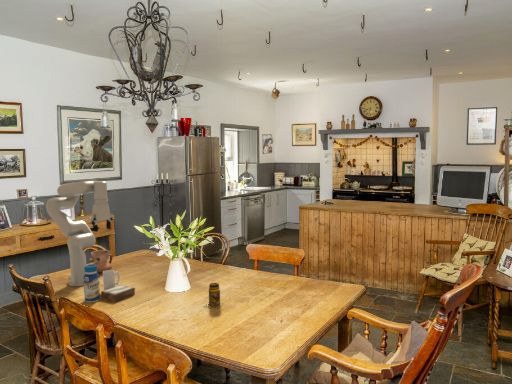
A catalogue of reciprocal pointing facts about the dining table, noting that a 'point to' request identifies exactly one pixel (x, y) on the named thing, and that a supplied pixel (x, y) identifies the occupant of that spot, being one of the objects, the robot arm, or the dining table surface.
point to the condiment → (214, 295)
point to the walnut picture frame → (117, 293)
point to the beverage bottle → (91, 283)
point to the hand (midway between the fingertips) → (102, 230)
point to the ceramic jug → (101, 260)
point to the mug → (110, 279)
